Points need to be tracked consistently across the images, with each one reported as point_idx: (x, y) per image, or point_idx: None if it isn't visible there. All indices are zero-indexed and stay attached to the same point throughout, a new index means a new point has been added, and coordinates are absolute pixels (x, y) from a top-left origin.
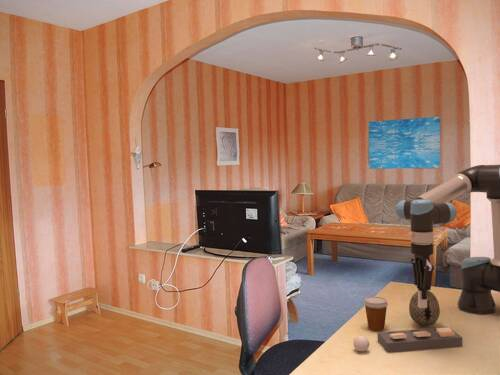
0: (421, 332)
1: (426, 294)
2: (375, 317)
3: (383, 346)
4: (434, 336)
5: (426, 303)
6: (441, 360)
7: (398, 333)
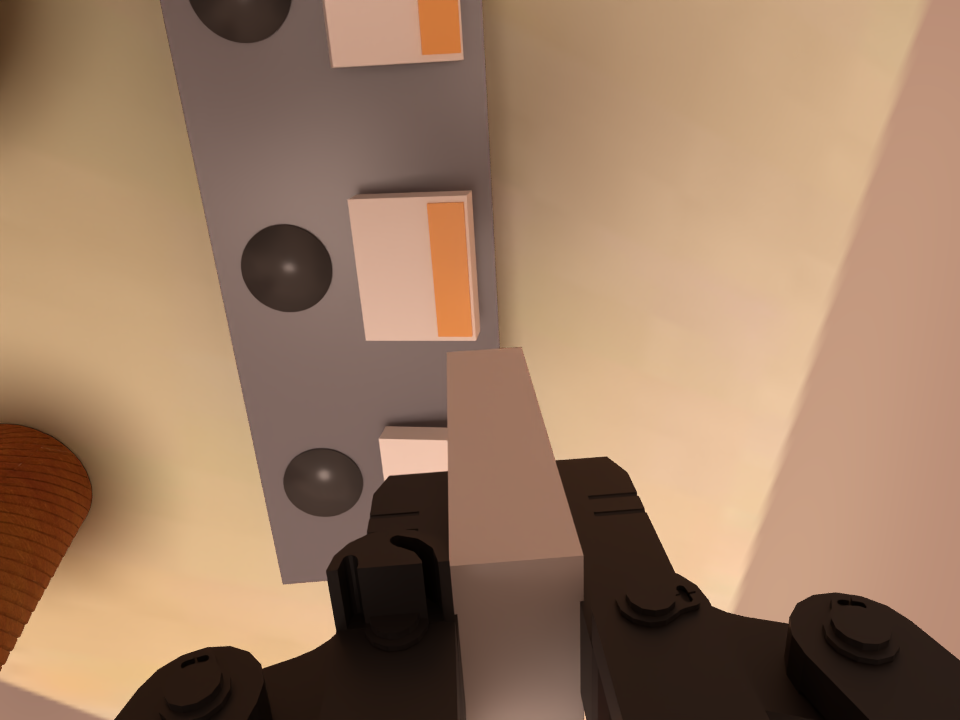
0: (405, 268)
1: (651, 534)
2: (37, 595)
3: None
4: (411, 119)
5: (531, 389)
6: (699, 183)
7: (393, 473)
